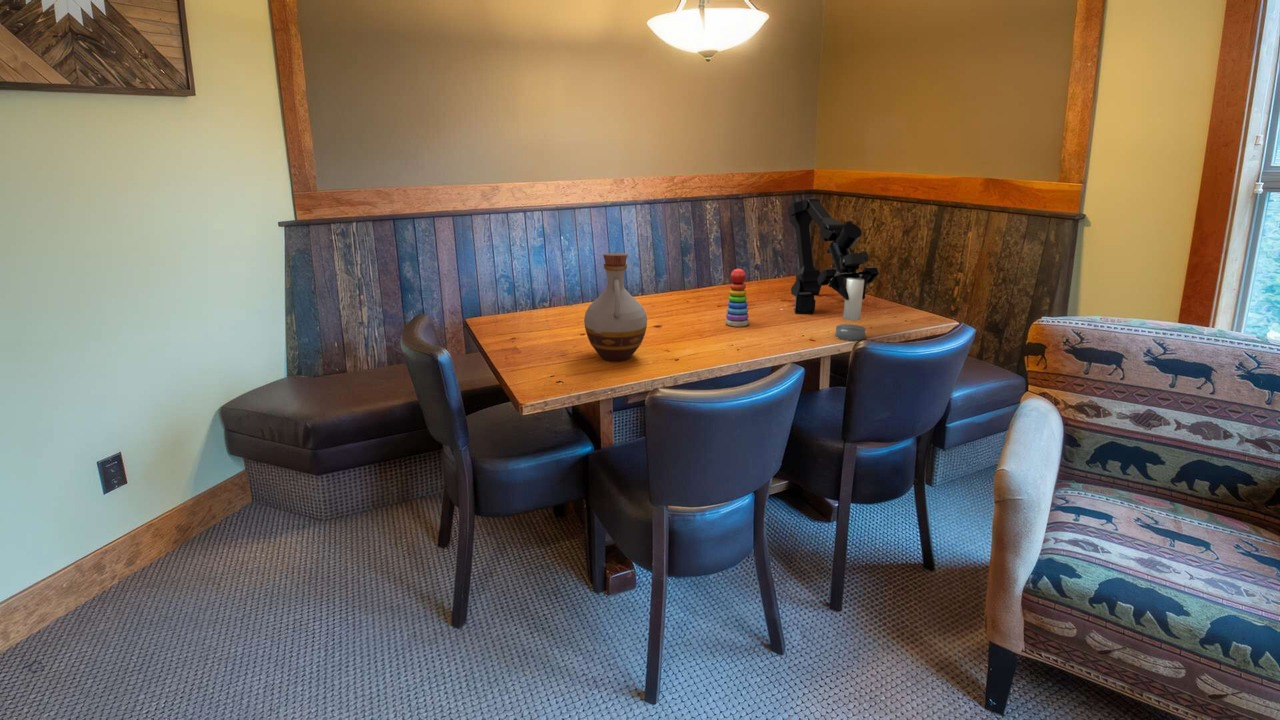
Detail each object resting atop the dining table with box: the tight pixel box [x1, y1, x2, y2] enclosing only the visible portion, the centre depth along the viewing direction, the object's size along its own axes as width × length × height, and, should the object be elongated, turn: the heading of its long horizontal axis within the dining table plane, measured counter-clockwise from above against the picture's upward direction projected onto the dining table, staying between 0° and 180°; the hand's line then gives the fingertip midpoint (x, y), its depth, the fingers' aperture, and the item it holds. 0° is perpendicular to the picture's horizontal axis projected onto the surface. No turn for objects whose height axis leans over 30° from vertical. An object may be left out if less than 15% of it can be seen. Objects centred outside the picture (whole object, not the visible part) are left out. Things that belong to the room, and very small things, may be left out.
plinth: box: [835, 323, 866, 342], centre depth 229 cm, size 9×9×3 cm
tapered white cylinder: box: [842, 278, 864, 322], centre depth 225 cm, size 5×5×12 cm
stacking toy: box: [724, 268, 750, 328], centre depth 240 cm, size 8×8×19 cm
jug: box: [583, 252, 648, 363], centre depth 202 cm, size 20×18×30 cm
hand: (855, 299), depth 224 cm, fingers closed on tapered white cylinder, 5 cm apart
